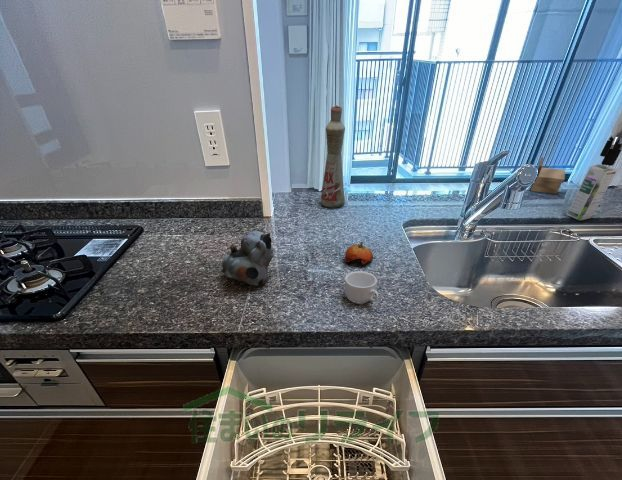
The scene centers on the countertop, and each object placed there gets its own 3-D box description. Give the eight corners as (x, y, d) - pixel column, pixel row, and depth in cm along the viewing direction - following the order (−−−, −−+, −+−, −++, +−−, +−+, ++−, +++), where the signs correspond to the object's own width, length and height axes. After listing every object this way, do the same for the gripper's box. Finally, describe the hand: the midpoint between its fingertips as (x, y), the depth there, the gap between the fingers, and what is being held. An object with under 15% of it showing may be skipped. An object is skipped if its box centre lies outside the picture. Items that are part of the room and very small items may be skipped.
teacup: (337, 298, 92) (338, 278, 88) (359, 287, 95) (361, 268, 91) (365, 315, 87) (367, 295, 83) (387, 304, 90) (390, 283, 86)
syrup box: (565, 215, 125) (589, 165, 114) (577, 212, 126) (602, 163, 115) (579, 221, 121) (605, 171, 110) (591, 218, 123) (619, 168, 112)
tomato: (381, 258, 102) (366, 241, 97) (364, 279, 104) (349, 263, 99) (366, 251, 108) (352, 234, 103) (351, 270, 109) (336, 255, 105)
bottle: (349, 206, 132) (356, 106, 111) (327, 210, 129) (329, 109, 108) (337, 198, 137) (342, 101, 116) (316, 202, 134) (316, 104, 113)
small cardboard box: (558, 184, 145) (569, 160, 139) (557, 194, 138) (569, 169, 131) (531, 181, 148) (541, 157, 141) (529, 190, 141) (539, 166, 134)
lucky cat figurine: (220, 269, 102) (232, 216, 96) (261, 283, 106) (276, 232, 100) (219, 280, 89) (233, 220, 83) (266, 295, 93) (283, 239, 87)
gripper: (666, 92, 93) (622, 170, 106) (657, 82, 103) (617, 155, 116) (632, 89, 95) (593, 166, 108) (626, 80, 105) (591, 151, 118)
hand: (606, 160), depth 112 cm, fingers open, 9 cm apart
